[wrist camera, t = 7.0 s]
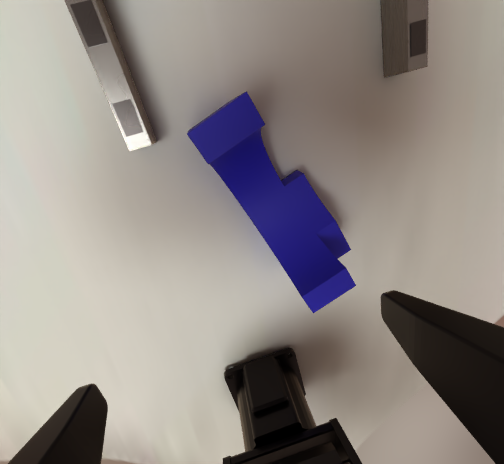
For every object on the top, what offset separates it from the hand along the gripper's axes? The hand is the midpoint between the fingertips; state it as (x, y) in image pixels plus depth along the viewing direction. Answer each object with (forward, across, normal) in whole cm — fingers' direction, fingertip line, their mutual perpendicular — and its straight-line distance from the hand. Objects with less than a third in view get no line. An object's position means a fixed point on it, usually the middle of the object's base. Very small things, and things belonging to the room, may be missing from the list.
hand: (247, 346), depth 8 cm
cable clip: (+12, -4, -1) cm, 13 cm away
